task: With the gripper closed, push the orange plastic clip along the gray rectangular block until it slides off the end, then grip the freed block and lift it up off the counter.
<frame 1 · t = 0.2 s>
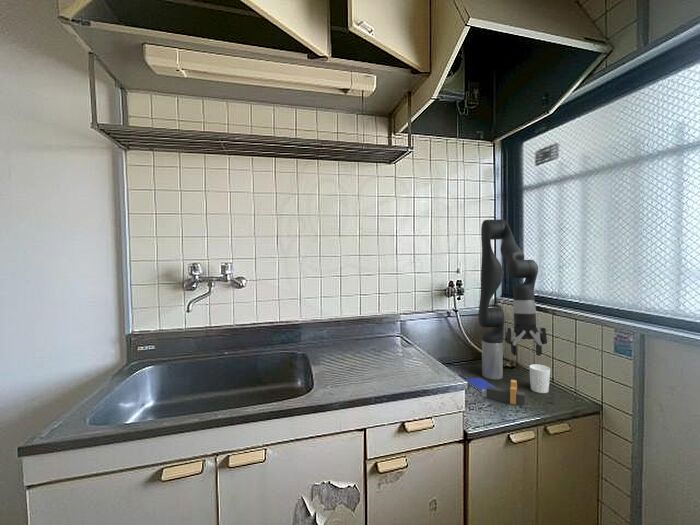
hand: (526, 355, 126), 22 cm above the worktop, tool pointing down, fingers open, 8 cm apart
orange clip: (513, 391, 135), point 4 cm above the worktop, slide at 0.0 cm
gray rectangular block: (505, 400, 136), on the worktop
hard drive: (480, 387, 151), on the worktop
white cup: (539, 390, 145), on the worktop
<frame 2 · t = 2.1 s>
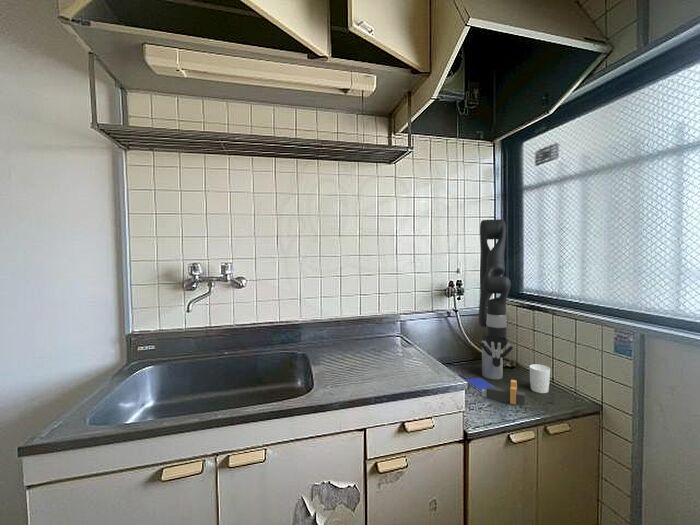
hand: (496, 366, 137), 14 cm above the worktop, tool pointing down, fingers closed
nothing on the worktop moved.
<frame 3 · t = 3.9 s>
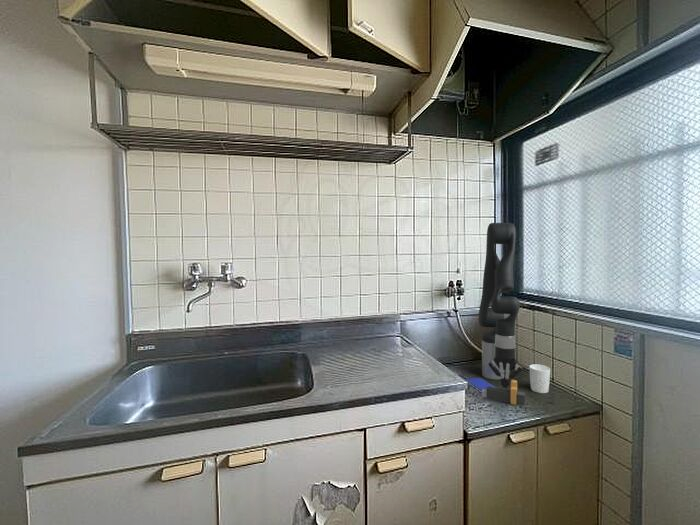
hand: (504, 386, 136), 6 cm above the worktop, tool pointing down, fingers closed
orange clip: (514, 391, 135), point 4 cm above the worktop, slide at 0.1 cm, touching gripper
everything else where it was.
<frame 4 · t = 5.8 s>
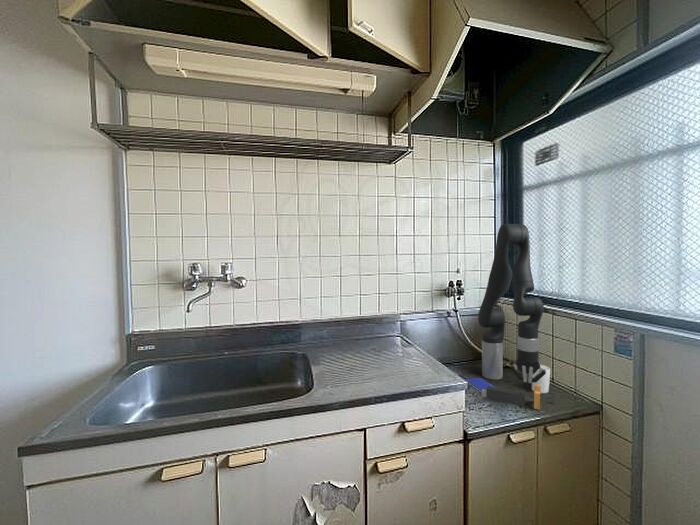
hand: (527, 390, 132), 6 cm above the worktop, tool pointing down, fingers closed
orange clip: (537, 395, 131), point 4 cm above the worktop, slide at 8.3 cm, touching gripper
everything else where it was.
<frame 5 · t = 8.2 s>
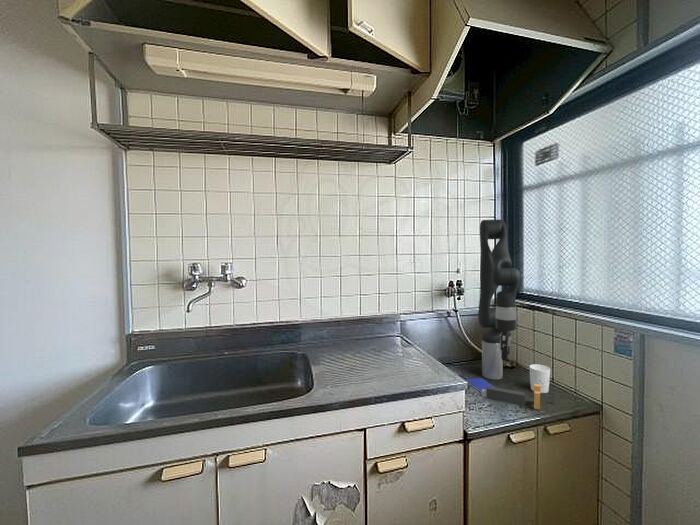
hand: (505, 356, 136), 18 cm above the worktop, tool pointing down, fingers open, 8 cm apart
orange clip: (537, 395, 131), point 4 cm above the worktop, slide at 8.3 cm
everything else where it was.
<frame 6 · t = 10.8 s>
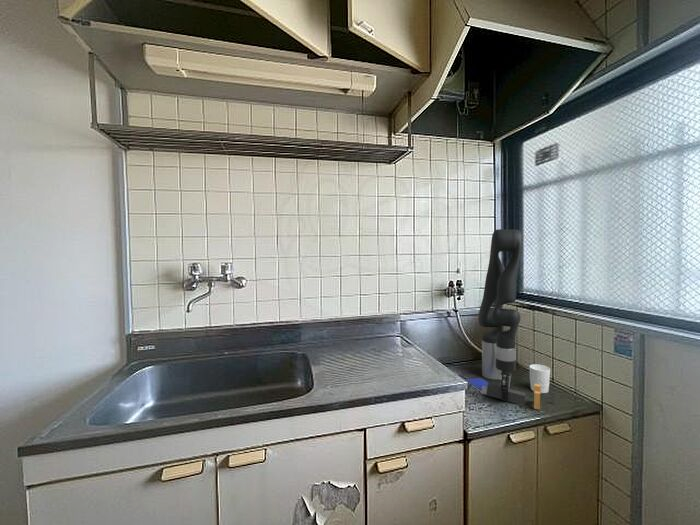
hand: (505, 398, 136), 1 cm above the worktop, tool pointing down, fingers closed on gray rectangular block, 2 cm apart
gray rectangular block: (505, 398, 137), point 1 cm above the worktop, tilted 6°, touching gripper
everything else where it was.
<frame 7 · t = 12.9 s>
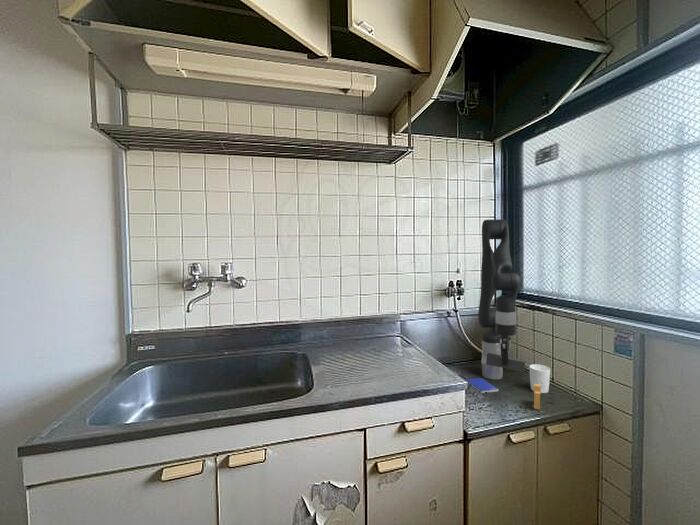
hand: (505, 363, 136), 15 cm above the worktop, tool pointing down, fingers closed on gray rectangular block, 3 cm apart
gray rectangular block: (505, 366, 136), point 14 cm above the worktop, touching gripper
everything else where it was.
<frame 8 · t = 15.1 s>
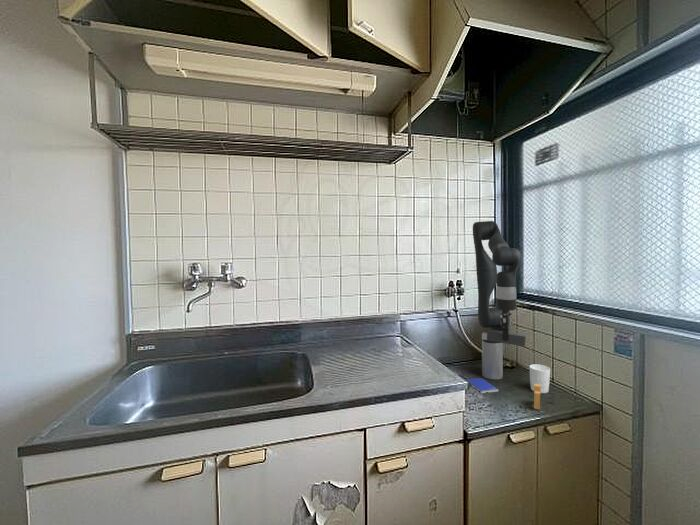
hand: (505, 339, 136), 25 cm above the worktop, tool pointing down, fingers closed on gray rectangular block, 3 cm apart
gray rectangular block: (505, 342, 136), point 24 cm above the worktop, touching gripper
everything else where it was.
at the end: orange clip slide at 8.3 cm; the gripper is holding gray rectangular block; gray rectangular block point 23.7 cm above the worktop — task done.
